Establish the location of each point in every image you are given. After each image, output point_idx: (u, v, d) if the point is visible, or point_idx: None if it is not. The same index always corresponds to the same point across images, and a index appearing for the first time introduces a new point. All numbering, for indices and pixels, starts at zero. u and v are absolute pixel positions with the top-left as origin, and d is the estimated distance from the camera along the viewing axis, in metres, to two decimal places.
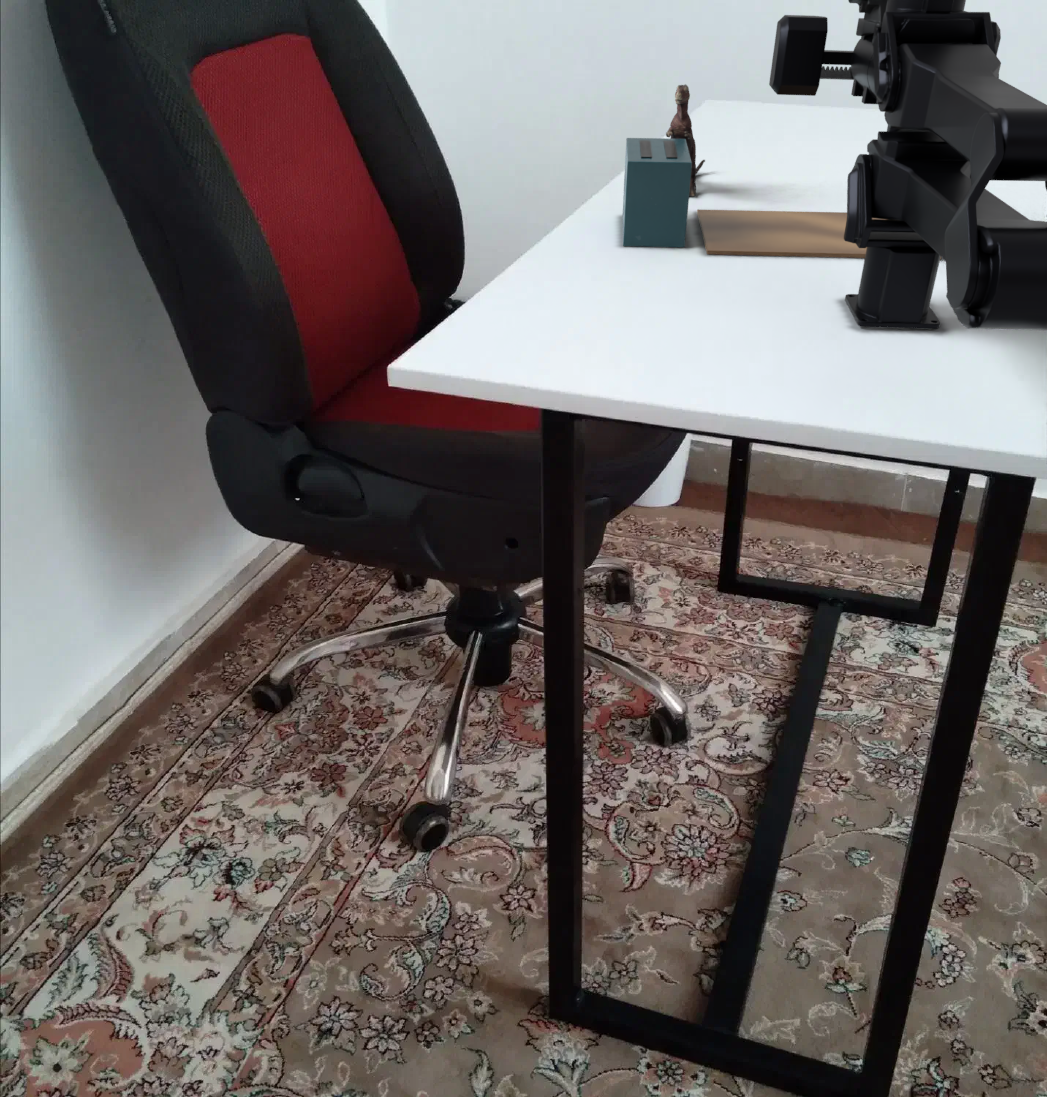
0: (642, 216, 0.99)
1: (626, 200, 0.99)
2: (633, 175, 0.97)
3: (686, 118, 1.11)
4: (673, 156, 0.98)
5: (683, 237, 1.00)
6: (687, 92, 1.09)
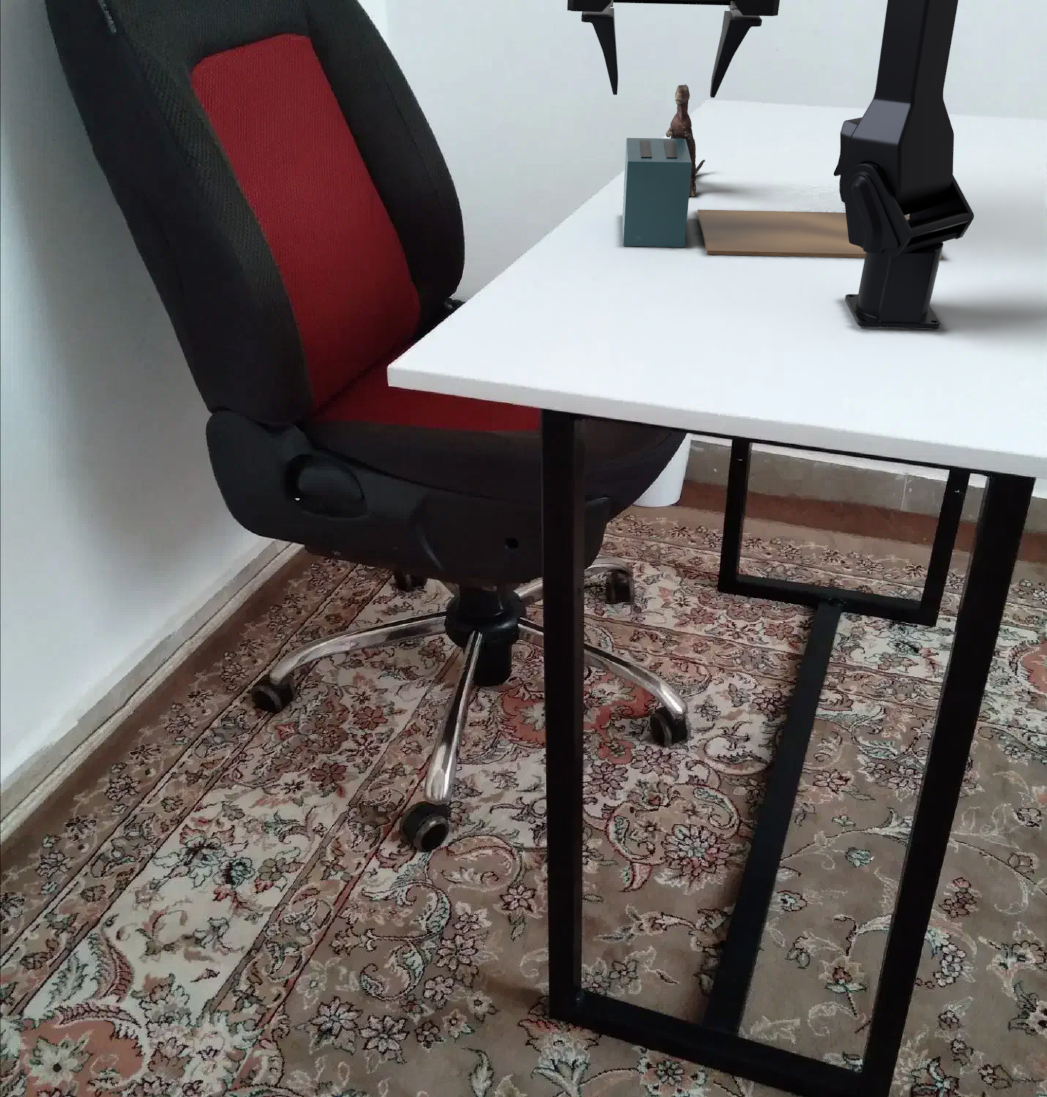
0: (642, 216, 0.99)
1: (626, 200, 0.99)
2: (633, 175, 0.97)
3: (686, 118, 1.11)
4: (673, 156, 0.98)
5: (683, 237, 1.00)
6: (687, 92, 1.09)
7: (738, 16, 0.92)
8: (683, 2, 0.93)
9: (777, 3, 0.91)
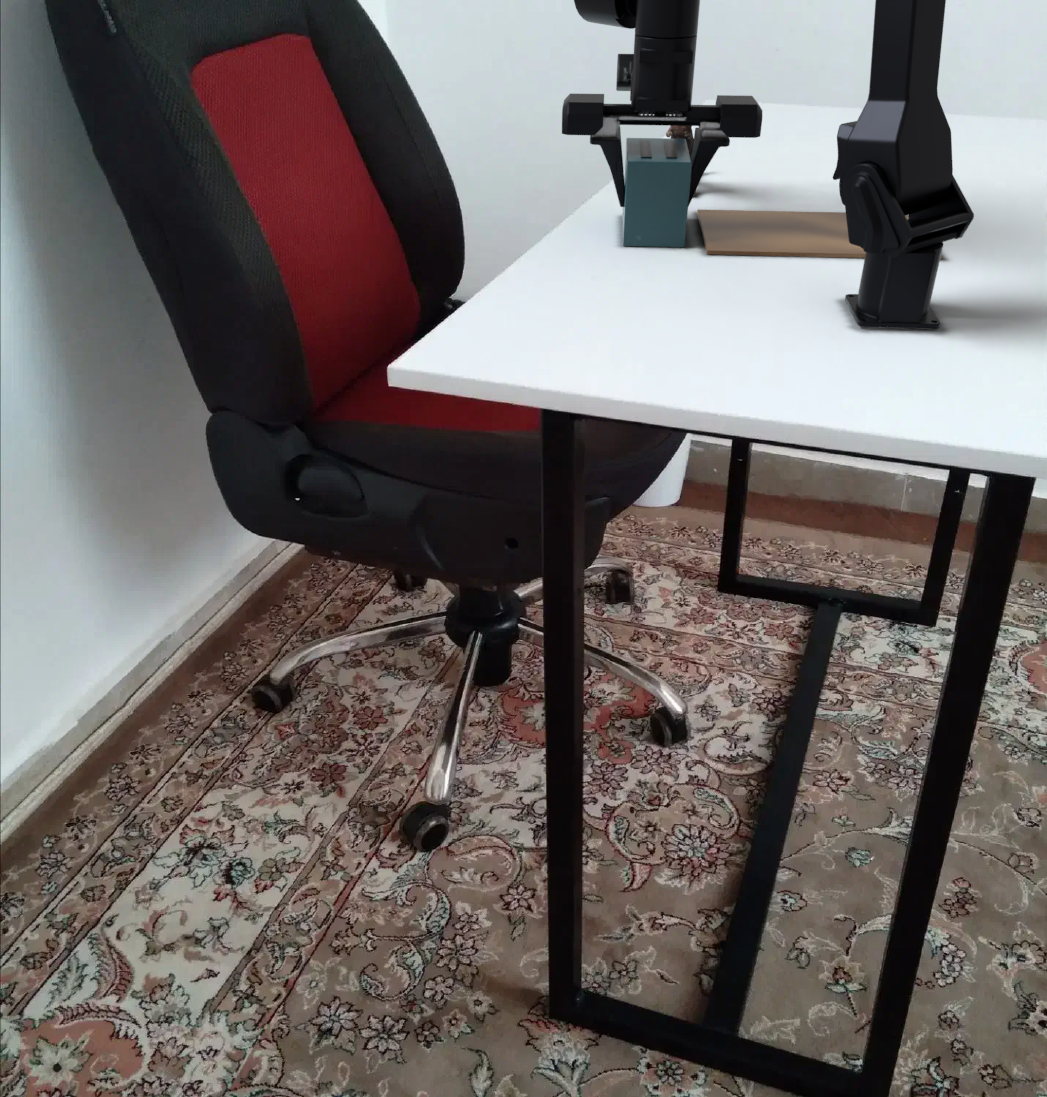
0: (641, 216, 0.99)
1: (626, 200, 0.99)
2: (633, 175, 0.97)
3: None
4: (673, 156, 0.98)
5: (683, 237, 1.00)
6: None
7: (707, 136, 0.98)
8: (671, 123, 0.99)
9: (759, 126, 0.96)
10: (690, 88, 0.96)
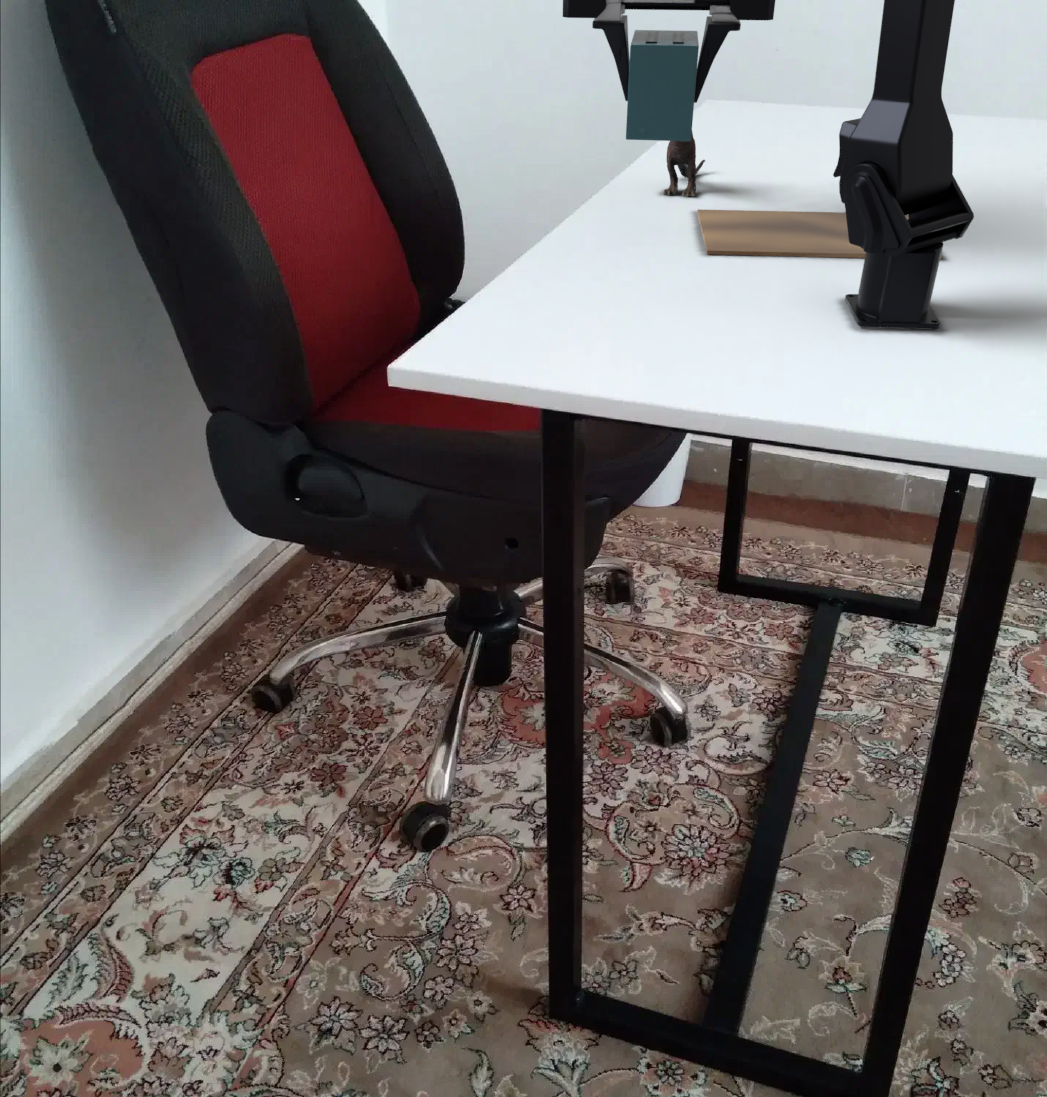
0: (645, 106, 0.94)
1: (629, 88, 0.93)
2: (636, 60, 0.92)
3: None
4: (680, 41, 0.92)
5: (689, 130, 0.95)
6: None
7: (717, 21, 0.93)
8: (679, 8, 0.93)
9: (772, 7, 0.90)
10: None
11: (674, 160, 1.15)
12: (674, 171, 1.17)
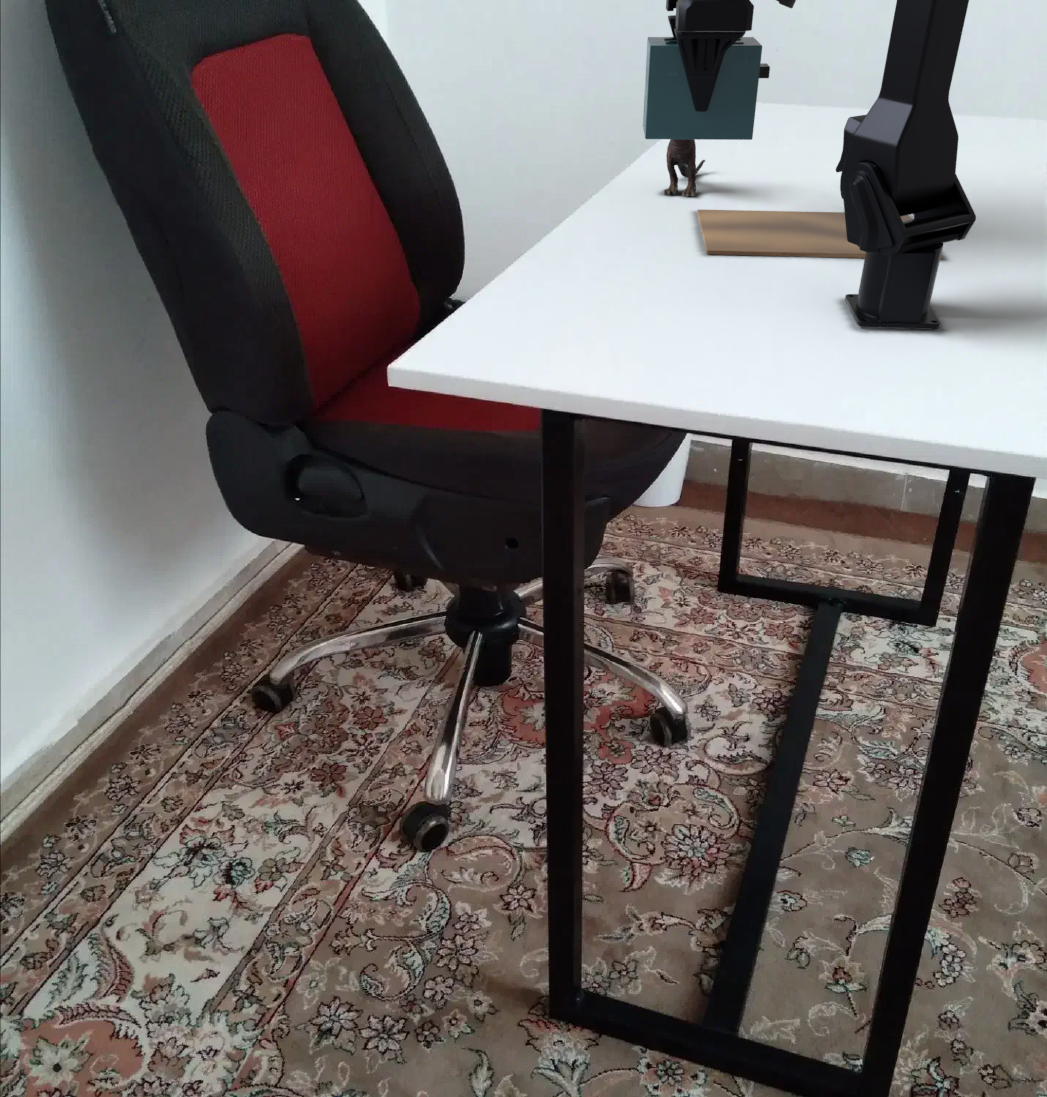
0: None
1: (645, 78, 1.00)
2: None
3: None
4: (669, 41, 0.94)
5: (645, 127, 0.97)
6: None
7: None
8: None
9: (683, 18, 0.86)
10: None
11: (674, 160, 1.15)
12: (674, 171, 1.17)
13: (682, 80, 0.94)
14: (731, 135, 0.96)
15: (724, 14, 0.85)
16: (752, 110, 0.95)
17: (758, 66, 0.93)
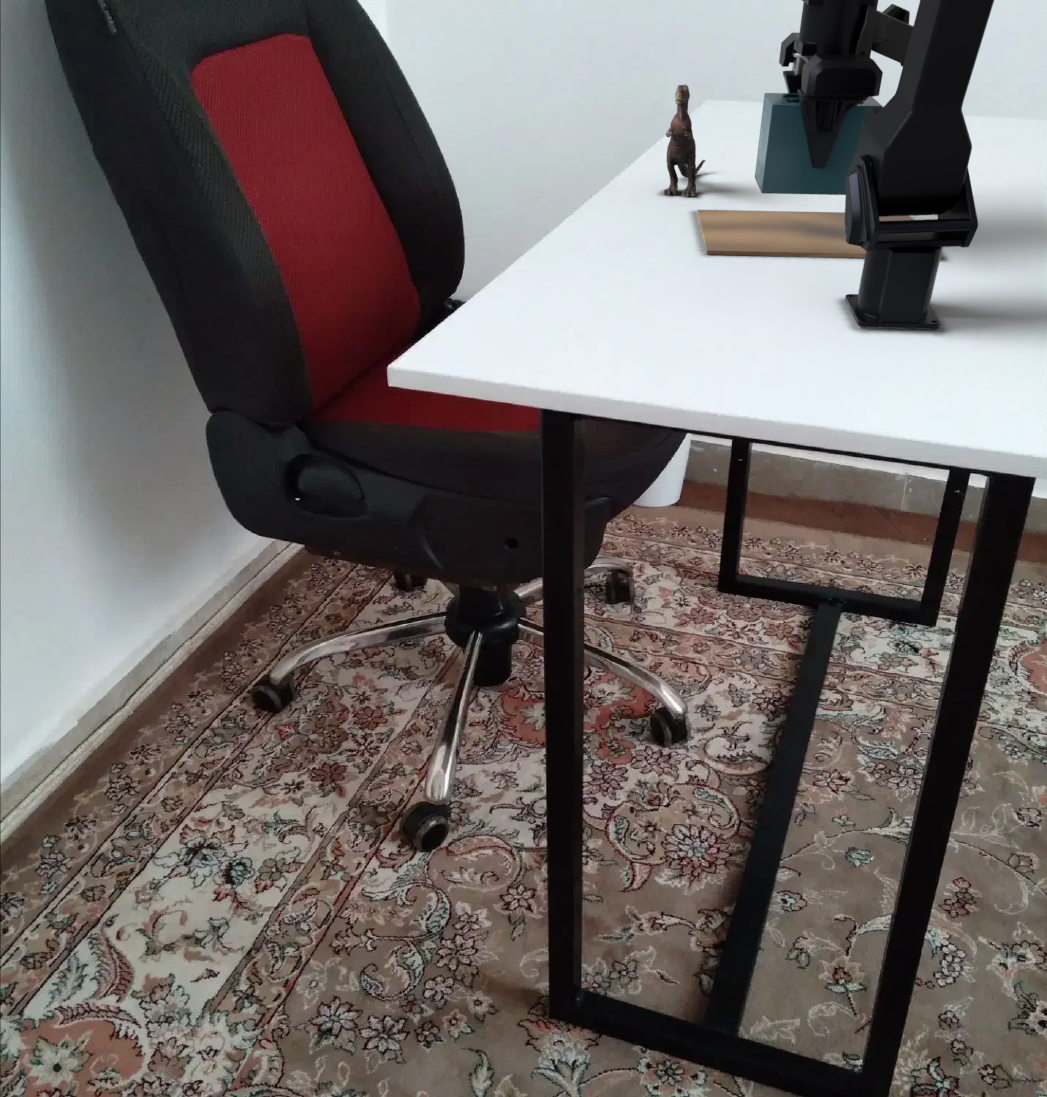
0: (759, 151, 1.01)
1: (760, 132, 1.02)
2: (763, 107, 1.00)
3: (686, 118, 1.11)
4: (790, 100, 0.96)
5: (762, 182, 0.99)
6: (687, 92, 1.09)
7: None
8: None
9: (812, 83, 0.88)
10: (822, 35, 0.92)
11: (674, 160, 1.15)
12: (674, 171, 1.17)
13: (802, 138, 0.96)
14: None
15: (853, 80, 0.87)
16: None
17: None
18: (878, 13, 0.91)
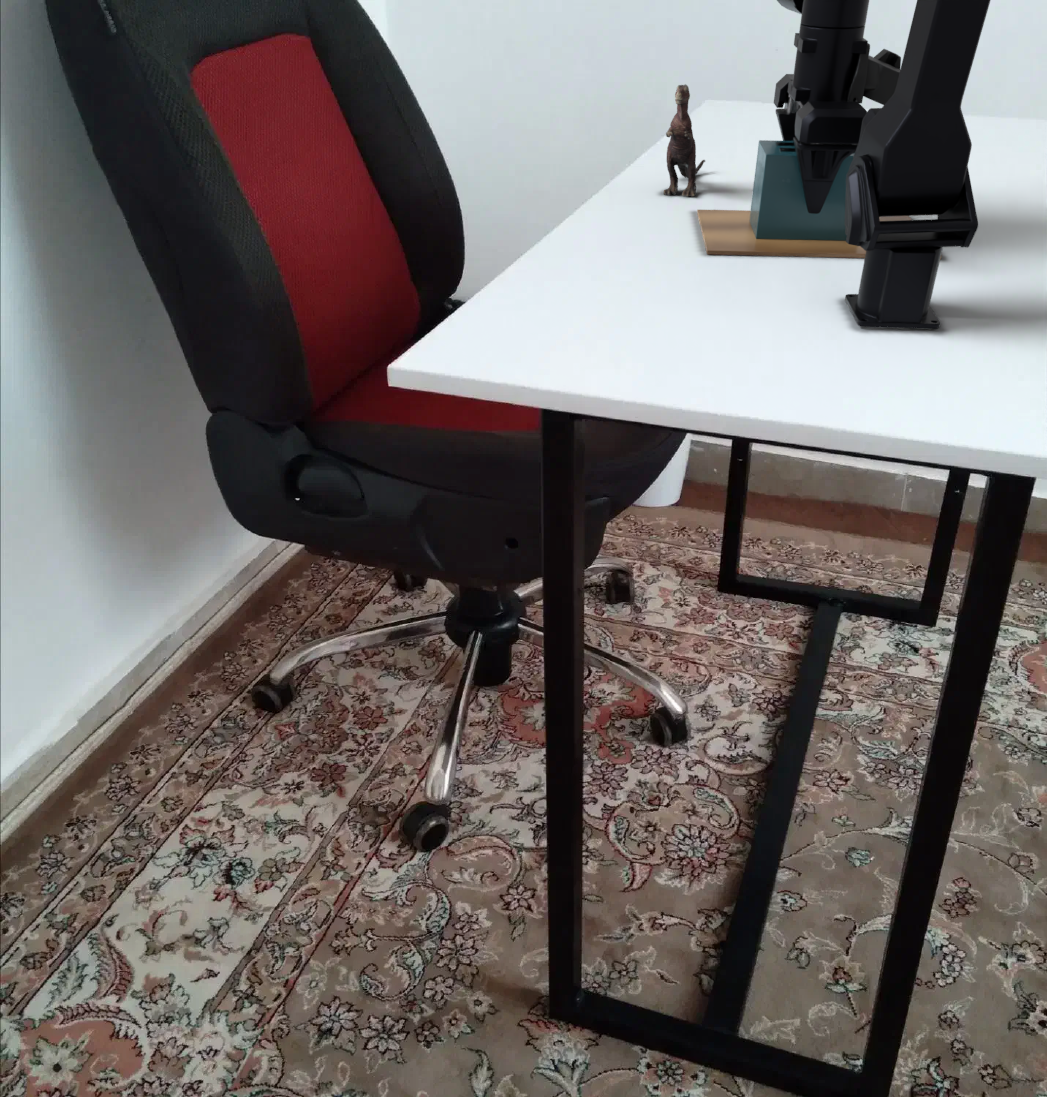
0: (754, 197, 1.04)
1: None
2: (757, 154, 1.02)
3: (686, 118, 1.11)
4: (783, 149, 0.98)
5: (756, 228, 1.01)
6: (687, 92, 1.09)
7: None
8: None
9: (805, 131, 0.90)
10: (815, 81, 0.94)
11: (674, 160, 1.15)
12: (674, 171, 1.17)
13: (795, 186, 0.99)
14: (838, 237, 1.01)
15: (845, 128, 0.90)
16: None
17: None
18: (870, 60, 0.93)
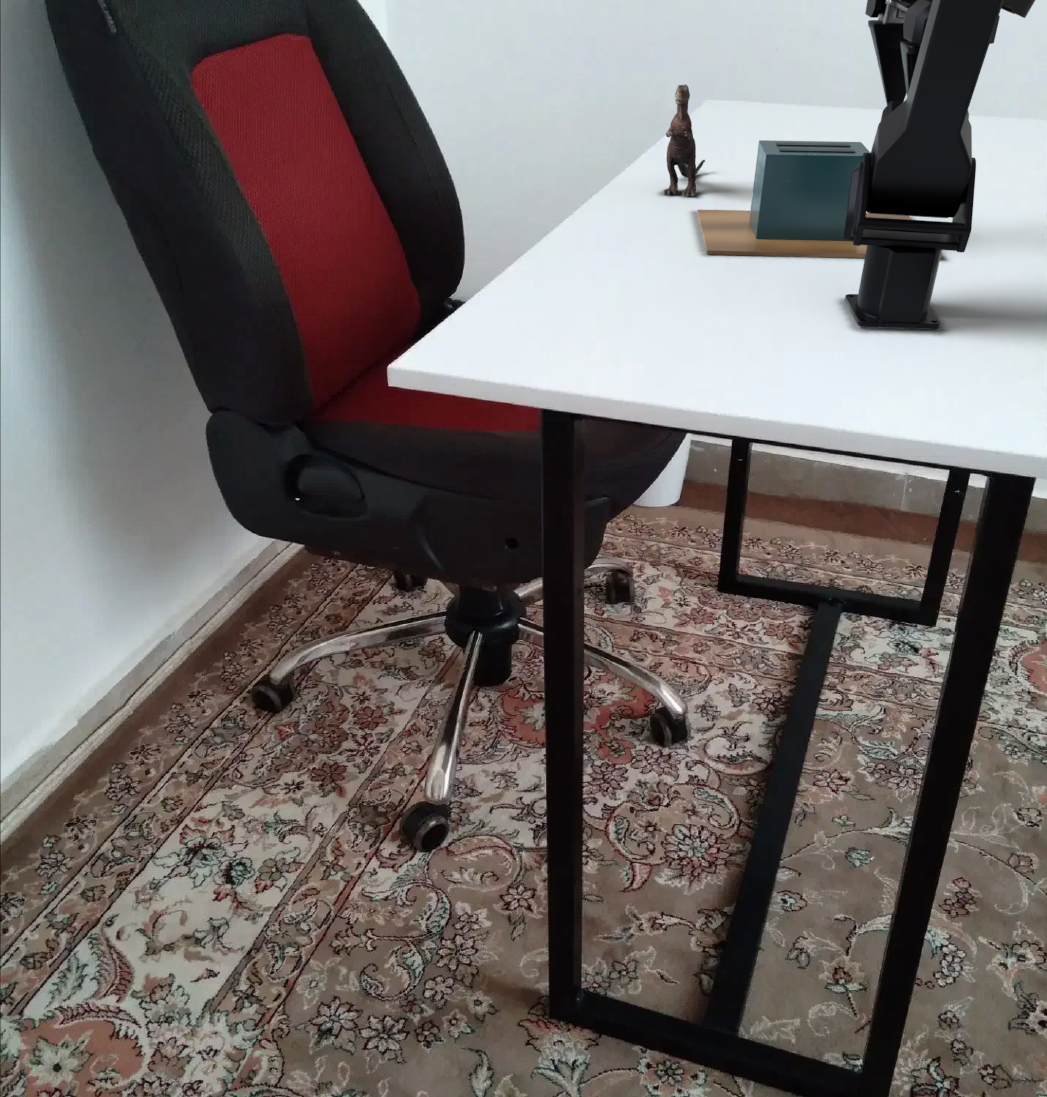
0: (754, 197, 1.04)
1: None
2: (757, 154, 1.02)
3: (686, 118, 1.11)
4: (783, 149, 0.98)
5: (756, 228, 1.01)
6: (687, 92, 1.09)
7: None
8: None
9: (919, 29, 0.78)
10: None
11: (674, 160, 1.15)
12: (674, 171, 1.17)
13: (795, 186, 0.99)
14: (838, 237, 1.01)
15: None
16: None
17: None
18: None
